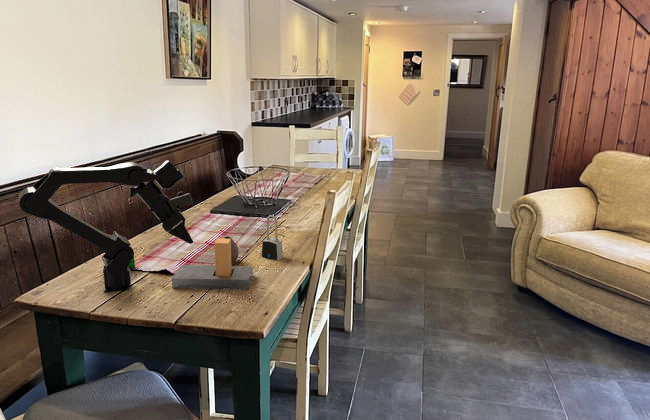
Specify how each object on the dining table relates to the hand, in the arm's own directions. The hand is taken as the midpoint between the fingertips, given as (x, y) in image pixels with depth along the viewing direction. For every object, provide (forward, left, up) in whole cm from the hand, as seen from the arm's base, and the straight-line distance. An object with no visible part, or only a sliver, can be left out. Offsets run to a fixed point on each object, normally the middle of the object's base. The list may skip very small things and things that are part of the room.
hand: (191, 240), depth 142 cm
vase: (+12, +11, -13) cm, 20 cm away
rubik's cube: (-21, +15, -13) cm, 29 cm away
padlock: (+27, +12, -13) cm, 32 cm away
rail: (+6, -3, -12) cm, 14 cm away
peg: (+9, -4, -12) cm, 16 cm away
